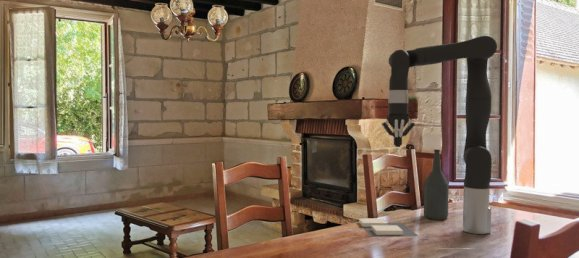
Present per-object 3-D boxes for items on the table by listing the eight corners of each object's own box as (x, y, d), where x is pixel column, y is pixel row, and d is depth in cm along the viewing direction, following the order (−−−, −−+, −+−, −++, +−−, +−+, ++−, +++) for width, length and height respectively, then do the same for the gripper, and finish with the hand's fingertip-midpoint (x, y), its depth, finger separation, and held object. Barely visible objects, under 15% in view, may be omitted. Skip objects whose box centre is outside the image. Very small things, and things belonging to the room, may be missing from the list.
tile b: (397, 225, 180) (371, 225, 179) (403, 230, 172) (376, 230, 171) (397, 229, 180) (371, 229, 180) (402, 235, 172) (376, 235, 172)
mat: (401, 223, 193) (401, 222, 193) (418, 237, 171) (418, 236, 171) (358, 223, 192) (358, 222, 192) (370, 237, 170) (370, 236, 170)
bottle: (419, 217, 204) (420, 149, 203) (431, 214, 211) (432, 148, 210) (440, 221, 197) (441, 150, 196) (452, 218, 203) (453, 149, 202)
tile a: (383, 218, 192) (359, 218, 191) (388, 222, 184) (363, 222, 183) (383, 222, 192) (359, 222, 191) (388, 227, 184) (363, 227, 183)
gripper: (412, 102, 184) (411, 146, 185) (379, 102, 184) (378, 146, 184) (418, 102, 177) (417, 147, 177) (383, 101, 176) (383, 147, 177)
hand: (397, 146), depth 181 cm, fingers closed
